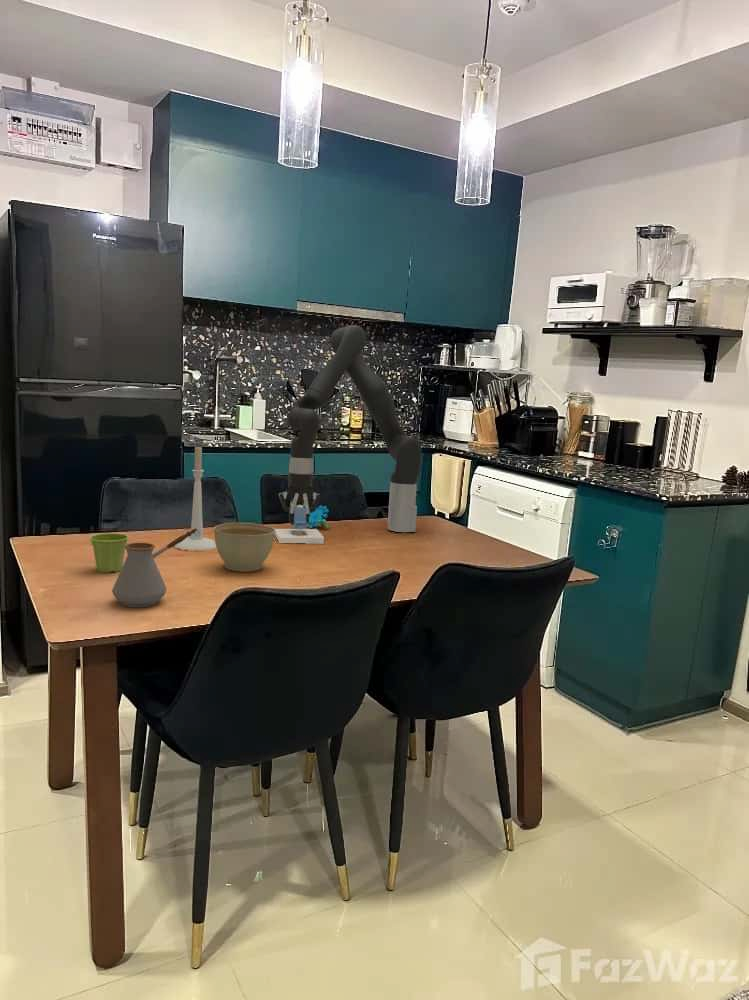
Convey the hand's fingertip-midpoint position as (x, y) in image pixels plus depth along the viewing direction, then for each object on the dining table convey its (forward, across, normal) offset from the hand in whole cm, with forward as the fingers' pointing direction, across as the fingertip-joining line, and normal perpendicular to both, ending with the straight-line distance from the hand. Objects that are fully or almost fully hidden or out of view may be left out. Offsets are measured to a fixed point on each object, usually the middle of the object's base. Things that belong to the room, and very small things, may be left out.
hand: (298, 524), depth 236 cm
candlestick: (+5, +32, +11) cm, 34 cm away
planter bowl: (+5, +20, +36) cm, 41 cm away
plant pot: (+5, +54, +37) cm, 66 cm away
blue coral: (+5, -9, -18) cm, 21 cm away
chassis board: (+5, 0, +1) cm, 5 cm away
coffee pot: (+5, +41, +62) cm, 75 cm away
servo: (+1, 0, 0) cm, 1 cm away
